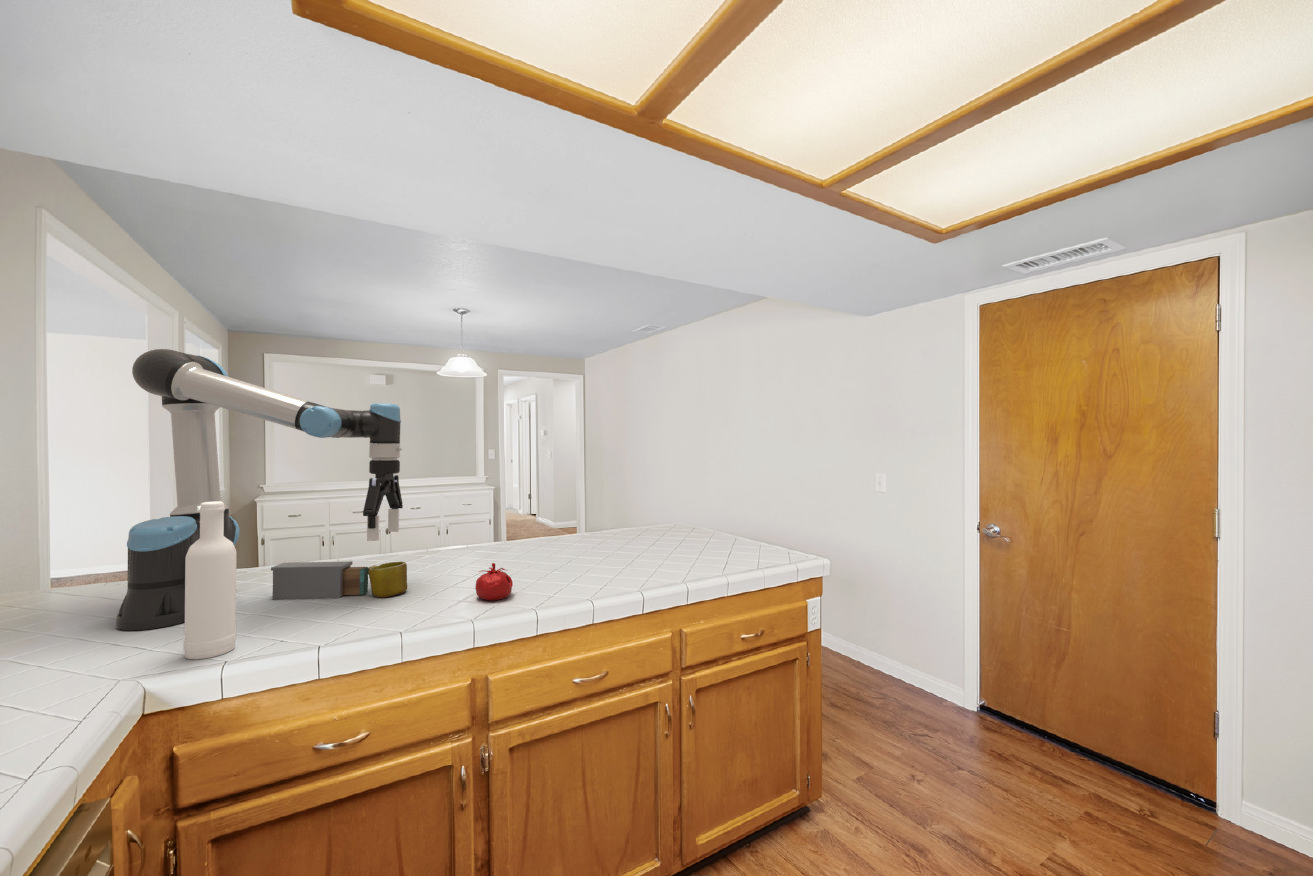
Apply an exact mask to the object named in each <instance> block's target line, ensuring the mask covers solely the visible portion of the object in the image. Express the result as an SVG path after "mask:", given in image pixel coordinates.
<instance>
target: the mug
mask: <svg viewBox="0 0 1313 876" xmlns="http://www.w3.org/2000/svg"><path fill="white" fill-rule="evenodd" d="M368 580H369V583H370V590H371V593H372V596H374V597H377V598H380V599H381V598H389V597H394V596H397V595H400V594H402V593H404V592H406V591H407V589H408V564H407V562H406V561H402V560H401V561H392V562H391V561H390V562H385V563H382V564H379V565H377V564H375V565H372V566H368Z"/></svg>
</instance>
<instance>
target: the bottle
mask: <svg viewBox="0 0 1313 876" xmlns="http://www.w3.org/2000/svg"><path fill="white" fill-rule="evenodd" d="M224 504H225V502H223V501H221V502H220V501H215V502H203V503H201V504H200V509H199V512H200V538H199V539H198V540H197V541H196V542H195V543H194V544H192V545H191V546H190V548H189V550H188V552H187V555H186V557H185V622H184V640H183V650H184V651H183V653H184V655H183V657H184V658H185V659H189V660H204V659H209V658H214V657H218V656H222V655H224V654H227V653H230V652H232V651H233V650H234V649H235V647H236V640H237V631H236V629H237V627H236V624H237V623H236V621H237V620H236V619H237V550H236V546H234V545H233V542H231V541H230V540H229V539H227V538H226V537H224V510H225V507H224Z"/></svg>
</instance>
